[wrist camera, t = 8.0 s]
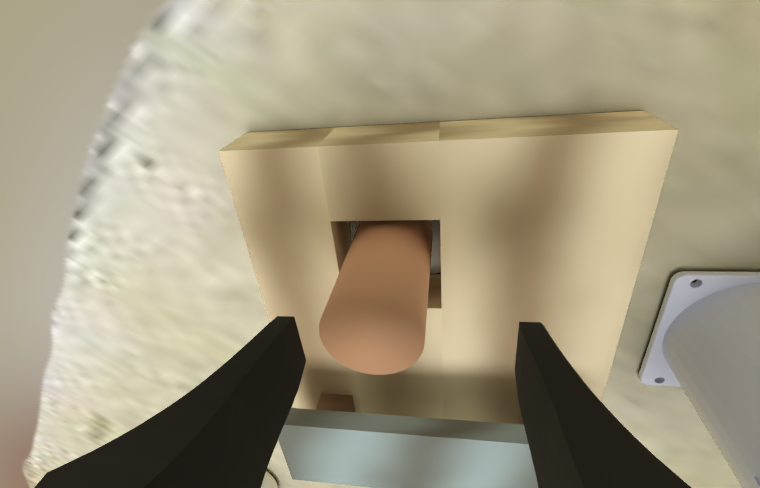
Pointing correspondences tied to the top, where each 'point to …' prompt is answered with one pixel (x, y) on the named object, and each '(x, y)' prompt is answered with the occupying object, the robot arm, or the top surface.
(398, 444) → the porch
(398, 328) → the peg
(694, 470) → the top surface
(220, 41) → the top surface
